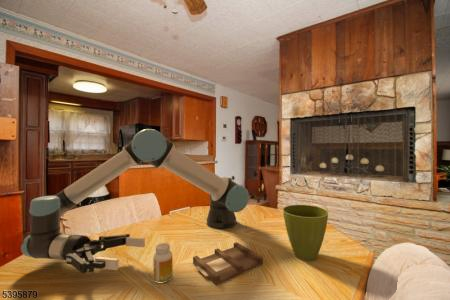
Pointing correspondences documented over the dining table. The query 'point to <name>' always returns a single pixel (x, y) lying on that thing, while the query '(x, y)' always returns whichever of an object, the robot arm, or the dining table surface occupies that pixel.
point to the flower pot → (305, 229)
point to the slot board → (227, 263)
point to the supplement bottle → (163, 263)
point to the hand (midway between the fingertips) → (132, 252)
